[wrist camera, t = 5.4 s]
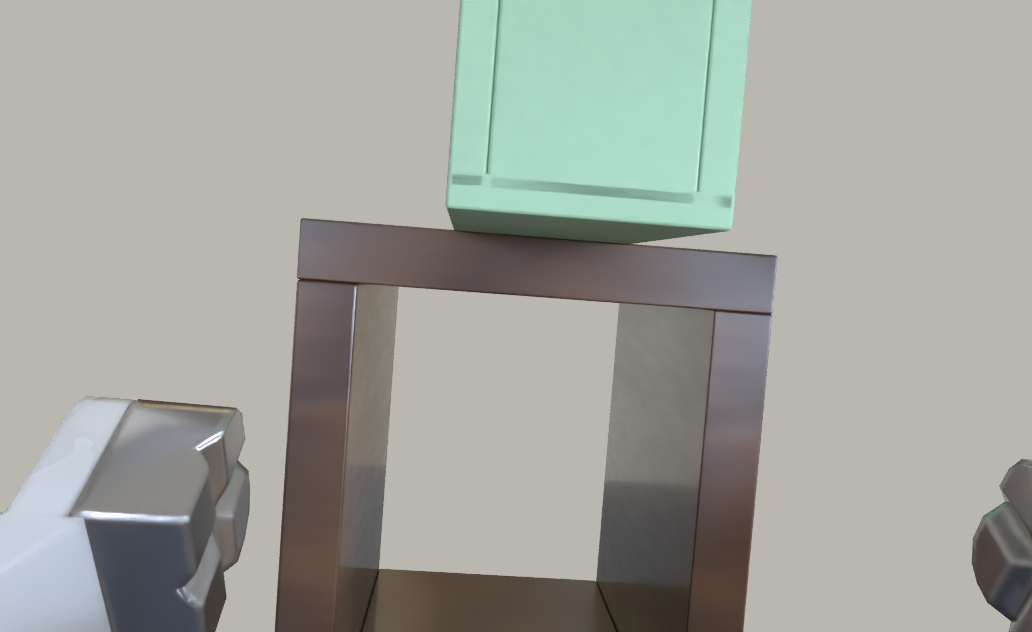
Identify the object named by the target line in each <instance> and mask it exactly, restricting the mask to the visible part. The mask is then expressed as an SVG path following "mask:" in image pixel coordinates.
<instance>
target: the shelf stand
mask: <svg viewBox="0 0 1032 632" xmlns="http://www.w3.org/2000/svg"><path fill="white" fill-rule="evenodd" d="M300 223H301V224H300V238H299V254H298V269H297V278H298V279H300V280H298V282H297V291H296V306H295V322H294V338H293V354H292V369H291V385H290V401H289V417H288V432H287V448H286V464H285V480H284V495H283V511H282V526H281V542H280V558H279V573H278V588H277V604H276V620H275V621H276V622H275V632H743V626H744V616H745V605H746V594H747V583H748V572H749V562H750V551H751V540H752V528H753V518H754V507H755V496H756V485H757V474H758V463H759V452H760V442H761V431H762V420H763V408H764V398H765V387H766V386H765V385H766V376H767V364H768V354H769V343H770V332H771V321H772V315H771V314H772V310H773V300H774V289H775V278H776V267H777V256H774V255H762V254H750V253H737V252H724V251H712V250H699V249H686V248H674V247H661V246H649V245H648V246H647V245H635V244H623V243H610V242H598V241H585V240H572V239H560V238H547V237H535V236H522V235H509V234H497V233H484V232H471V231H459V230H446V229H432V228H420V227H408V226H395V225H382V224H369V223H358V222H345V221H332V220H319V219H307V218H302V219H301V222H300ZM399 286H401V287H413V288H426V289H440V290H453V291H466V292H480V293H493V294H507V295H520V296H533V297H546V298H560V299H574V300H587V301H600V302H613V303H619V313H618V325H617V338H616V350H615V362H614V374H613V386H612V398H611V410H610V422H609V434H608V446H607V458H606V471H605V482H604V496H603V507H602V519H601V531H600V543H599V555H598V567H597V579H596V581H587V580H586V581H585V580H569V579H550V578H534V577H515V576H498V575H480V574H462V573H444V572H426V571H408V570H390V569H379V559H380V544H381V531H382V516H383V502H384V488H385V487H384V486H385V473H386V459H387V445H388V430H389V416H390V402H391V387H392V372H393V358H394V343H395V329H396V314H397V301H398V287H399Z"/></svg>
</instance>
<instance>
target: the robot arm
mask: <svg viewBox="0 0 1032 632" xmlns="http://www.w3.org/2000/svg"><path fill="white" fill-rule="evenodd" d="M244 441H245V433H244V425H243V418H242V413H241V412H240V411H239V410H238V409H237V408H232V407H221V406H209V405H198V404H187V403H175V402H164V401H151V400H141V399H138V400H137V401H136V400H130V399H119V398H108V397H95V396H86V397H85V398H83V399H81V400H80V401H78V402H77V403H75V404H74V406H73V407H72V408H71V410H70V412H69V413H68V415H67V416H66V418H65V419H64V421H63V423H62V424H61V426H60V427H59V429H58V430H57V432H56V434H55V435H54V437H53V438H52V440H51V441H50V443H49V444H48V446H47V448H46V449H45V451H44V452H43V454H42V455H41V457H40V459H39V460H38V462H37V463H36V465H35V466H34V468H33V469H32V471H31V472H30V474H29V476H28V477H27V479H26V480H25V482H24V483H23V485H22V487H21V488H20V490H19V491H18V493H17V494H16V496H15V497H14V499H13V501H12V502H11V504H10V505H9V507H8V508H7V510H6V512H5V513H0V632H215V631H216V628H217V624H218V621H219V618H220V615H221V612H222V609H223V606H224V603H225V600H226V590H225V581H224V572H225V571H226V570H228V569H229V568H230V567H231V566H233V565H234V564H235V563H236V562H238V559H239V556H240V552H241V549H242V546H243V542H244V539H245V534H246V528H247V522H248V516H249V507H250V483H249V472H248V470H247V469H246V468H245V467H244V466H243V465H242V464H241V463H240V462H239V461H238V457H239V455H240V452H241V449H242V447H243V444H244ZM1000 489H1001V491H1002V494H1003V497H1004V499H1005V502H1004V503H1003V504H1001V505H999V506H998V507H996V508H995V509H993V510H992V511H990V512H989V513H987V514H986V515H984V516H983V518H982V520H981V522H980V524H979V527H978V529H977V531H976V533H975V535H974V537H973V549H972V565H973V569H974V573H975V577H976V581H977V584H978V586H979V587H980V589H981V591H982V593H983V595H984V597H985V599H986V601H987V603H989V604H990V605H991V606H993V607H994V608H995V609H996V610H998V611H999V612H1000V613H1002V614H1003V615H1004V616H1005V617H1007V618H1008V619H1009V620H1010V621H1011V624H1010V628H1009V632H1032V459H1021V460H1020V461H1019V462H1017V463H1016V464H1015V465H1013V466H1012V467H1011V468H1009V470H1008V472H1007V473H1006V475H1005V477H1004V479H1003V481H1002V482H1001V484H1000Z"/></svg>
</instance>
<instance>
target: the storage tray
mask: <svg viewBox="0 0 1032 632" xmlns="http://www.w3.org/2000/svg"><path fill="white" fill-rule="evenodd" d="M751 10H752V0H460V11H459V25H458V39H457V53H456V66H455V80H454V94H453V108H452V122H451V136H450V150H449V163H448V178H447V191H446V207H447V210H448V213H449V216H450V219H451V222H452V225H453V228H454V230H459V231H471V232H484V233H497V234H509V235H522V236H535V237H547V238H560V239H572V240H585V241H598V242H610V243H623V244H633V243H640V242H648V241H656V240H663V239H671V238H679V237H686V236H694V235H701V234H709V233H716V232H724V231H729V230H731V228H732V222H733V210H734V201H735V190H736V179H737V167H738V155H739V145H740V133H741V121H742V111H743V100H744V88H745V77H746V66H747V55H748V43H749V31H750V20H751Z"/></svg>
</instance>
